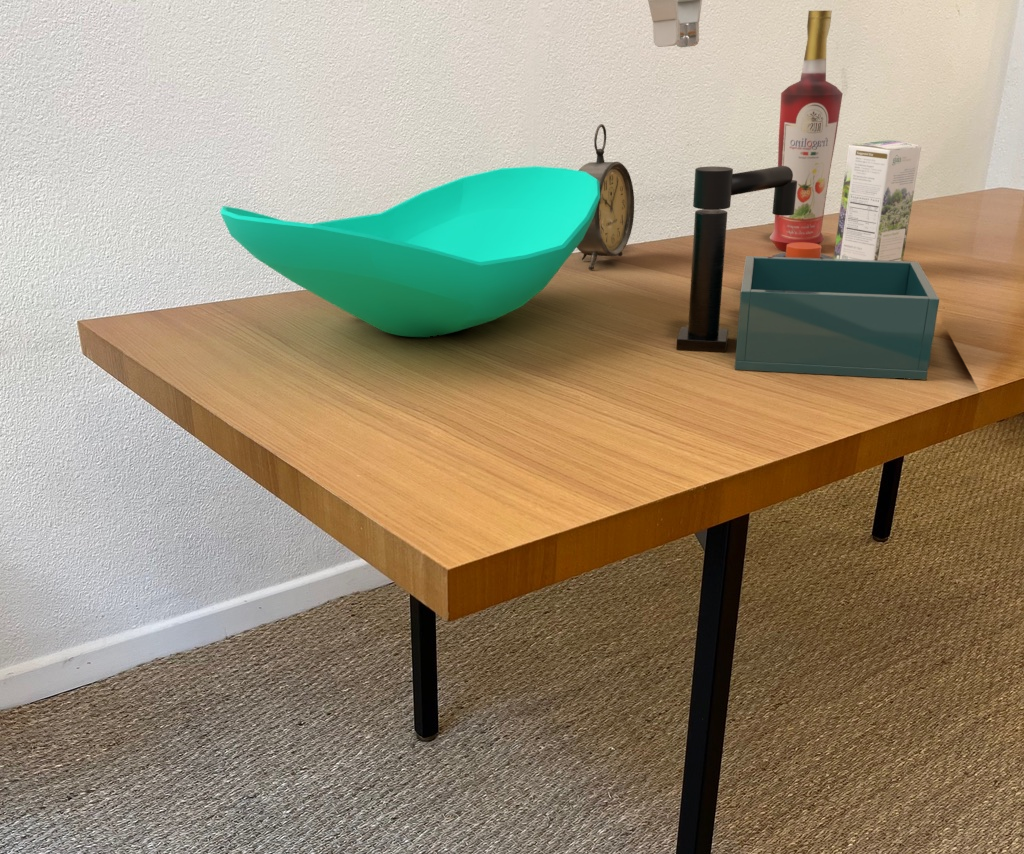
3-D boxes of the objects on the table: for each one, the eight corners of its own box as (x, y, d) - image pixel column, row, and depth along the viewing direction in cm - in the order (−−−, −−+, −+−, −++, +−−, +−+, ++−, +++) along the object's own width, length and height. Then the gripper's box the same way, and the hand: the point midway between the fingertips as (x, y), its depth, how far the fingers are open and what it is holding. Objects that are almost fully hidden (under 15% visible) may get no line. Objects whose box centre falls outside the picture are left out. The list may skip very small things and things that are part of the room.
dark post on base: (727, 339, 99) (737, 208, 94) (725, 352, 95) (735, 216, 90) (680, 336, 100) (687, 206, 94) (676, 349, 96) (683, 215, 91)
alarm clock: (599, 273, 125) (602, 128, 118) (558, 269, 127) (559, 127, 120) (635, 256, 133) (640, 120, 126) (596, 252, 136) (599, 119, 129)
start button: (819, 259, 113) (821, 242, 113) (820, 266, 110) (822, 249, 110) (785, 258, 114) (786, 241, 113) (785, 264, 111) (786, 248, 110)
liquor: (821, 243, 139) (847, 10, 128) (828, 254, 133) (856, 10, 121) (764, 242, 140) (786, 11, 129) (769, 253, 134) (791, 10, 122)
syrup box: (861, 265, 127) (877, 138, 121) (903, 273, 123) (922, 142, 117) (831, 271, 124) (846, 142, 118) (873, 280, 120) (891, 146, 114)
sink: (907, 333, 100) (918, 261, 97) (926, 380, 87) (939, 299, 84) (740, 325, 103) (745, 255, 100) (734, 369, 90) (740, 291, 87)
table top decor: (350, 409, 82) (336, 236, 76) (175, 342, 100) (153, 198, 94) (664, 314, 107) (671, 179, 101) (479, 274, 125) (476, 158, 119)
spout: (713, 233, 91) (717, 172, 88) (684, 228, 93) (687, 168, 91) (803, 214, 99) (809, 157, 97) (775, 210, 101) (780, 155, 99)
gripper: (692, -189, 69) (697, 41, 74) (731, -140, 87) (733, 43, 92) (599, -173, 71) (609, 50, 76) (656, -128, 89) (661, 50, 94)
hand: (677, 46), depth 84 cm, fingers open, 8 cm apart
